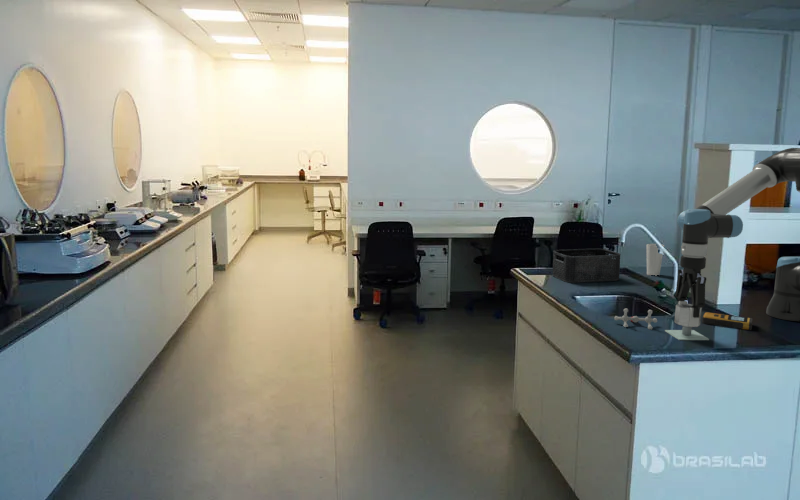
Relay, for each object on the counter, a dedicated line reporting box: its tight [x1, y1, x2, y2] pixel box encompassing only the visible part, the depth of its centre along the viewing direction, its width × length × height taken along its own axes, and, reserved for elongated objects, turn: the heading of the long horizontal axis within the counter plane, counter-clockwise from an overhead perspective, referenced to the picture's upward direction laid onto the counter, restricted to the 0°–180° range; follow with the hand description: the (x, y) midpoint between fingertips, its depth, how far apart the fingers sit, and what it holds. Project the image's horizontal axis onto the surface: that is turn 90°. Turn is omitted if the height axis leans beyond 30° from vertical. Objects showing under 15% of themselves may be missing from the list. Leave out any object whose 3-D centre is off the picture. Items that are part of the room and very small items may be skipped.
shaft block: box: [664, 326, 710, 341], centre depth 196 cm, size 10×10×8 cm
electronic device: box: [701, 312, 754, 331], centre depth 211 cm, size 8×16×3 cm, turn 58°
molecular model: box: [614, 308, 658, 330], centre depth 209 cm, size 14×8×10 cm
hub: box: [673, 303, 703, 327], centre depth 196 cm, size 7×7×6 cm
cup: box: [646, 243, 665, 277], centre depth 297 cm, size 8×8×16 cm
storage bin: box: [552, 247, 621, 284], centre depth 288 cm, size 29×19×13 cm
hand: (687, 322), depth 196 cm, fingers closed on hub, 7 cm apart
